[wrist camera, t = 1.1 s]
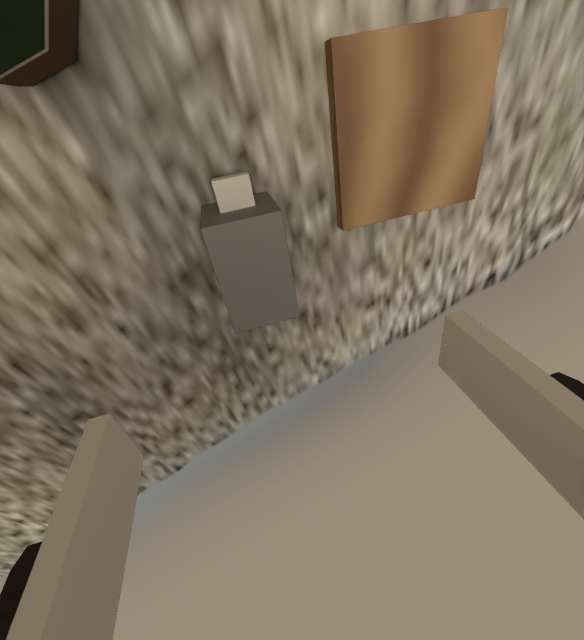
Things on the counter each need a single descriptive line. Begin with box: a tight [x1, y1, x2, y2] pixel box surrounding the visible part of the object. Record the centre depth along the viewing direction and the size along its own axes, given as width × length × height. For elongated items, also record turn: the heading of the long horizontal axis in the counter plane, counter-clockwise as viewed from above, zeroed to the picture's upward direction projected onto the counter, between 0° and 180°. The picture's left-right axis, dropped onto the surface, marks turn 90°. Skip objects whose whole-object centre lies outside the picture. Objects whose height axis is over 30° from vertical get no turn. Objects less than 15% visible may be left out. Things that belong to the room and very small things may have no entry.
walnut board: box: [325, 8, 508, 230], centre depth 23 cm, size 12×12×1 cm
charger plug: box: [201, 172, 300, 334], centre depth 23 cm, size 5×10×6 cm, turn 9°
